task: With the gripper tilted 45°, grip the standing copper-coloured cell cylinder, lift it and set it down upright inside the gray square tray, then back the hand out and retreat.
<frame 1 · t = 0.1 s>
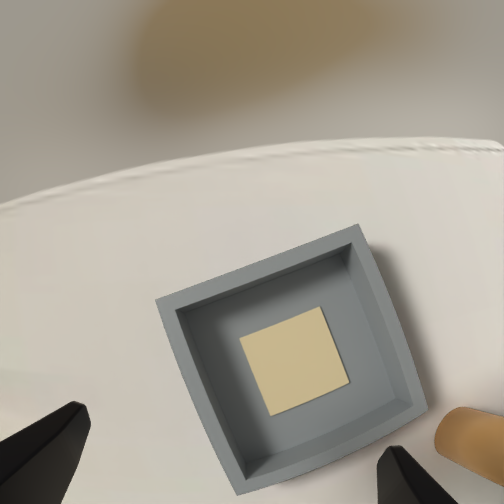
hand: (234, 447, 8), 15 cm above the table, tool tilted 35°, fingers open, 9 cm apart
gray square tray: (293, 360, 23), on the table
cell: (455, 432, 21), on the table
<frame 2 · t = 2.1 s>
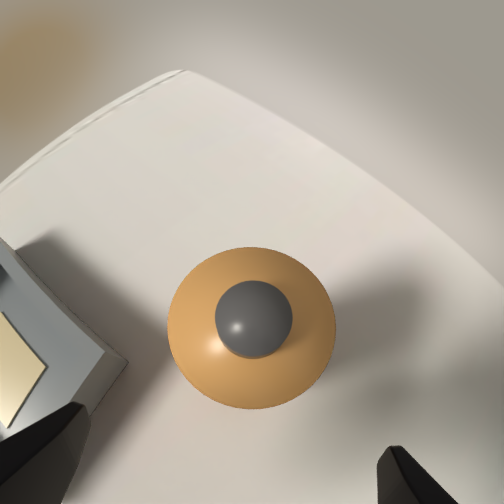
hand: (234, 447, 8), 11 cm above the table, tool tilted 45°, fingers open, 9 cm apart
gray square tray: (9, 371, 17), on the table
cell: (243, 366, 19), on the table
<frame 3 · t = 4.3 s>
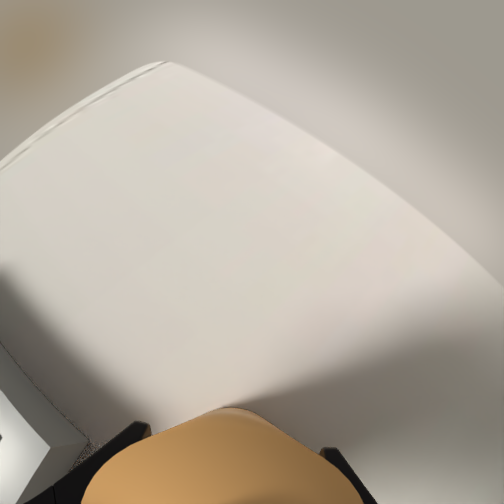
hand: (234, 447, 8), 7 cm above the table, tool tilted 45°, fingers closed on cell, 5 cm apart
cell: (231, 454, 13), on the table, touching gripper
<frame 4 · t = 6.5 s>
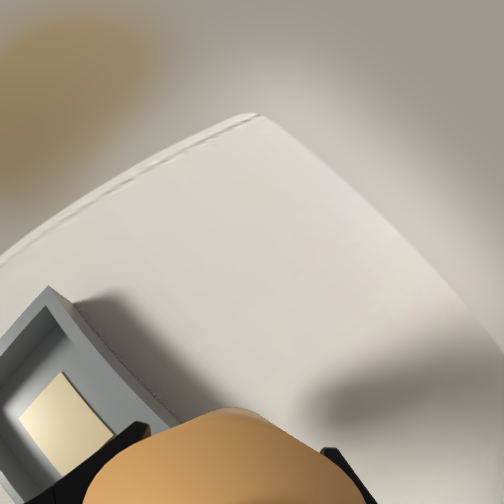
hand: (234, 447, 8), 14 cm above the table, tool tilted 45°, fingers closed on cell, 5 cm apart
gray square tray: (68, 427, 19), on the table
cell: (232, 454, 13), point 7 cm above the table, touching gripper
when the fingers open (9 cm above the table, at t = 8.9 s): cell stays where it is, resting on gray square tray.
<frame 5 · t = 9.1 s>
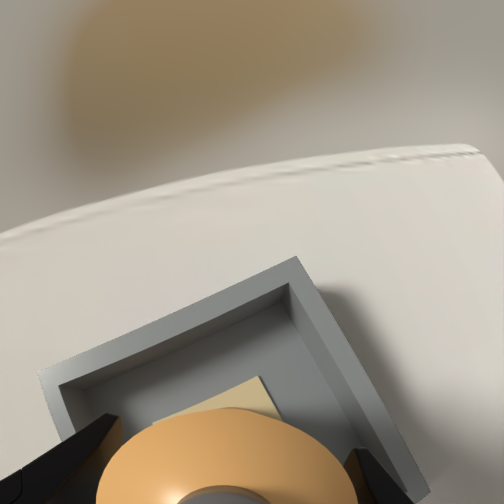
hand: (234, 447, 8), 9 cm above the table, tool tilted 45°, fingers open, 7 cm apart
gray square tray: (232, 448, 15), on the table
cell: (232, 451, 14), point 1 cm above the table, touching gray square tray
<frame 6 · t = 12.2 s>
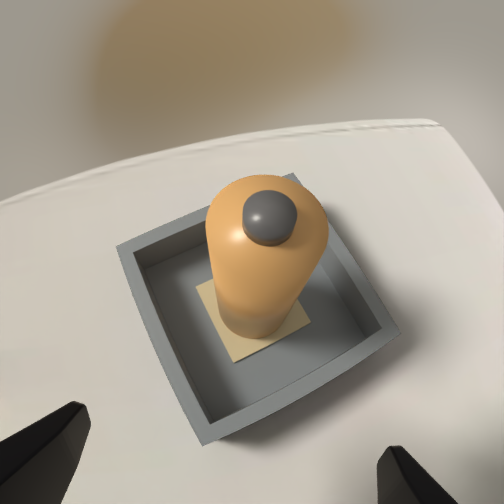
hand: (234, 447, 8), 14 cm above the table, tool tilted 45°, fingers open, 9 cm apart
gray square tray: (252, 309, 24), on the table
cell: (253, 304, 22), point 1 cm above the table, touching gray square tray
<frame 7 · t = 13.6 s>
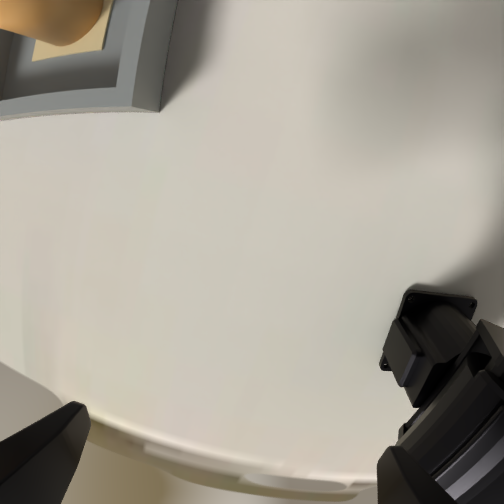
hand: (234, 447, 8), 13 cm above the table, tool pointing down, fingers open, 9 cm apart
gray square tray: (81, 19, 15), on the table
cell: (72, 14, 14), point 1 cm above the table, touching gray square tray
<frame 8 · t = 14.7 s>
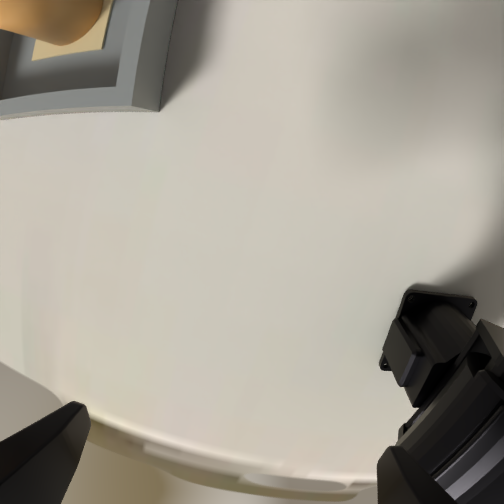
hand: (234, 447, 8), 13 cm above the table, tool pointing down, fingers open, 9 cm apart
gray square tray: (81, 18, 15), on the table
cell: (72, 13, 14), point 1 cm above the table, touching gray square tray
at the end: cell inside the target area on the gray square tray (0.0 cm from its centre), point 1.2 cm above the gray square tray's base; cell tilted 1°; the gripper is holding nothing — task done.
